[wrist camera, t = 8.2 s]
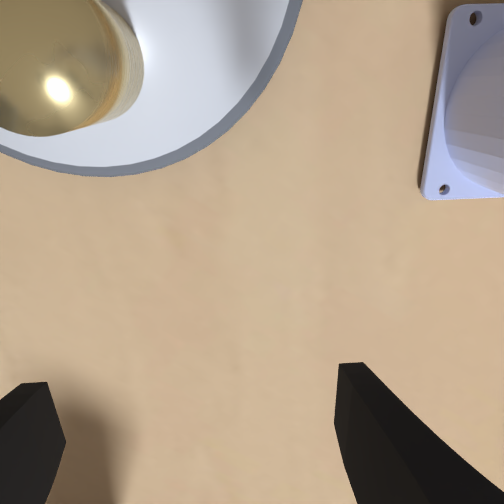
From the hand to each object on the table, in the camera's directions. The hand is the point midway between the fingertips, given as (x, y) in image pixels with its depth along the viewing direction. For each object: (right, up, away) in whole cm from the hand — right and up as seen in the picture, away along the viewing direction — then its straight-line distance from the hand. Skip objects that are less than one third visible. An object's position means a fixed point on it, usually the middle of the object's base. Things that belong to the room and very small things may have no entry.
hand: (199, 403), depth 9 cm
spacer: (-5, +10, +4) cm, 12 cm away
